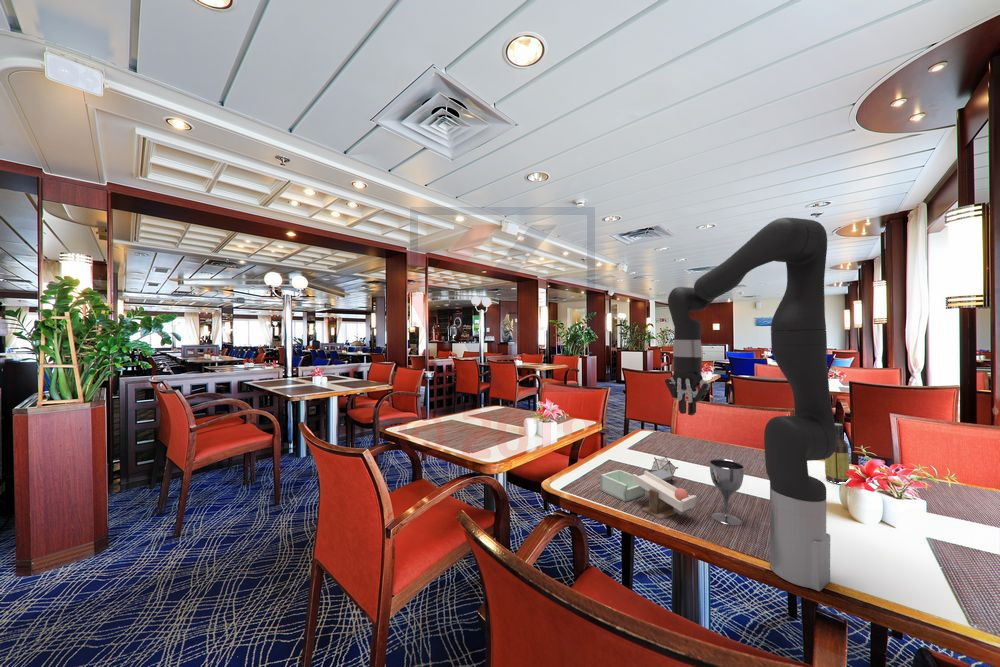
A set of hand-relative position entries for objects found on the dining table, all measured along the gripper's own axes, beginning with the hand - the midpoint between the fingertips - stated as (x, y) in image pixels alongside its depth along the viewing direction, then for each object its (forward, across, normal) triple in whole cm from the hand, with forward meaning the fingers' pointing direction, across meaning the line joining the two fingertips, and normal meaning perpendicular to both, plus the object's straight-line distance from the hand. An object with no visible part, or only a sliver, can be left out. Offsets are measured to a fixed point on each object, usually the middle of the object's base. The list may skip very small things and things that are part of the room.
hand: (687, 413), depth 108 cm
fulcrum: (+27, +2, +9) cm, 29 cm away
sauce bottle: (+27, -17, -61) cm, 69 cm away
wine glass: (+27, -10, -2) cm, 29 cm away
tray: (+27, +16, +9) cm, 33 cm away
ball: (+20, -4, +9) cm, 23 cm away
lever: (+23, +2, +5) cm, 24 cm away
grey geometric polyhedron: (+27, +15, -11) cm, 33 cm away
